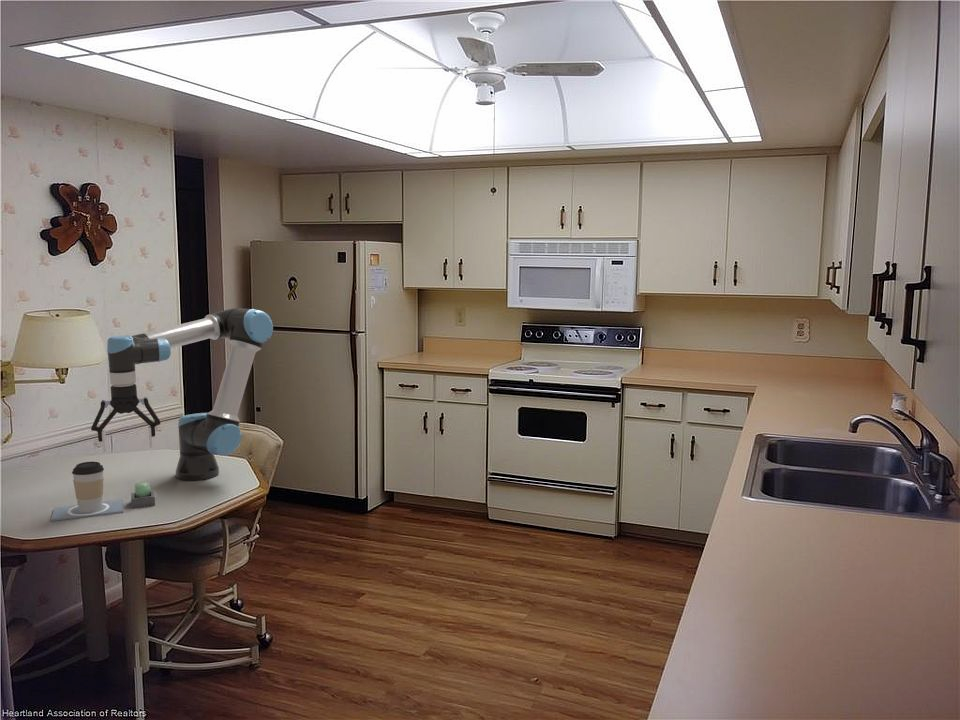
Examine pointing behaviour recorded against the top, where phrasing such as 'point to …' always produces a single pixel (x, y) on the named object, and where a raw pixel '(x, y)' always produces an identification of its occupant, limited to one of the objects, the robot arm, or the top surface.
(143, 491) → the button
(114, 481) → the top surface
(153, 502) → the button housing
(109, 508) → the slate board
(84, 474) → the coffee cup
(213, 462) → the robot arm
